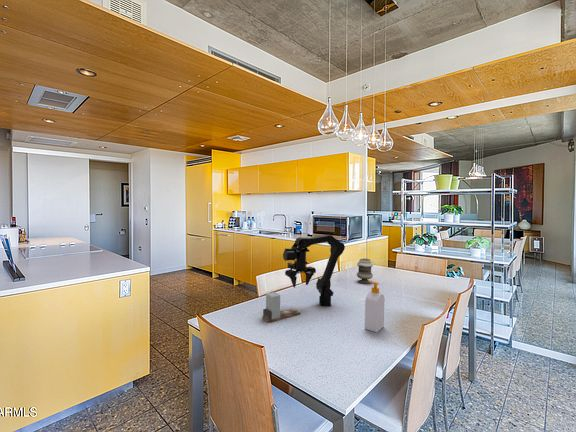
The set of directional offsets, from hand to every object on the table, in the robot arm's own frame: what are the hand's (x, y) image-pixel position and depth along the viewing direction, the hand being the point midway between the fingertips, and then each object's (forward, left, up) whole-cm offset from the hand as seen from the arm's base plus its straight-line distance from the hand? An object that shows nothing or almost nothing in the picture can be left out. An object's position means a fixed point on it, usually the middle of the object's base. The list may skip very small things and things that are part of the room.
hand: (300, 286), depth 166 cm
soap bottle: (-37, +22, -13) cm, 45 cm away
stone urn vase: (-48, -60, -13) cm, 78 cm away
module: (+14, +16, -12) cm, 25 cm away
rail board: (+9, +13, -13) cm, 20 cm away
